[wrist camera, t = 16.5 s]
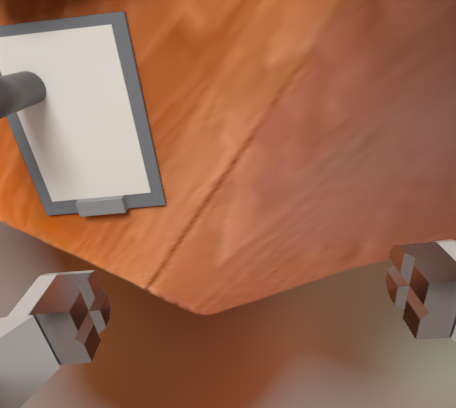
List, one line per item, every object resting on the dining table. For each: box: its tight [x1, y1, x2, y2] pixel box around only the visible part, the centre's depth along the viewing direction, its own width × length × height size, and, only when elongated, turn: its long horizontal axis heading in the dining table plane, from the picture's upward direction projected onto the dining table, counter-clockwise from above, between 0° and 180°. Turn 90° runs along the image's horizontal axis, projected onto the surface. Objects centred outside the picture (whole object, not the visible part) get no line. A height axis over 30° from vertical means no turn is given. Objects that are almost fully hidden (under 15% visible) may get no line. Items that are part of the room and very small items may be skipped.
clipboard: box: [0, 11, 166, 217], centre depth 38 cm, size 22×16×2 cm
